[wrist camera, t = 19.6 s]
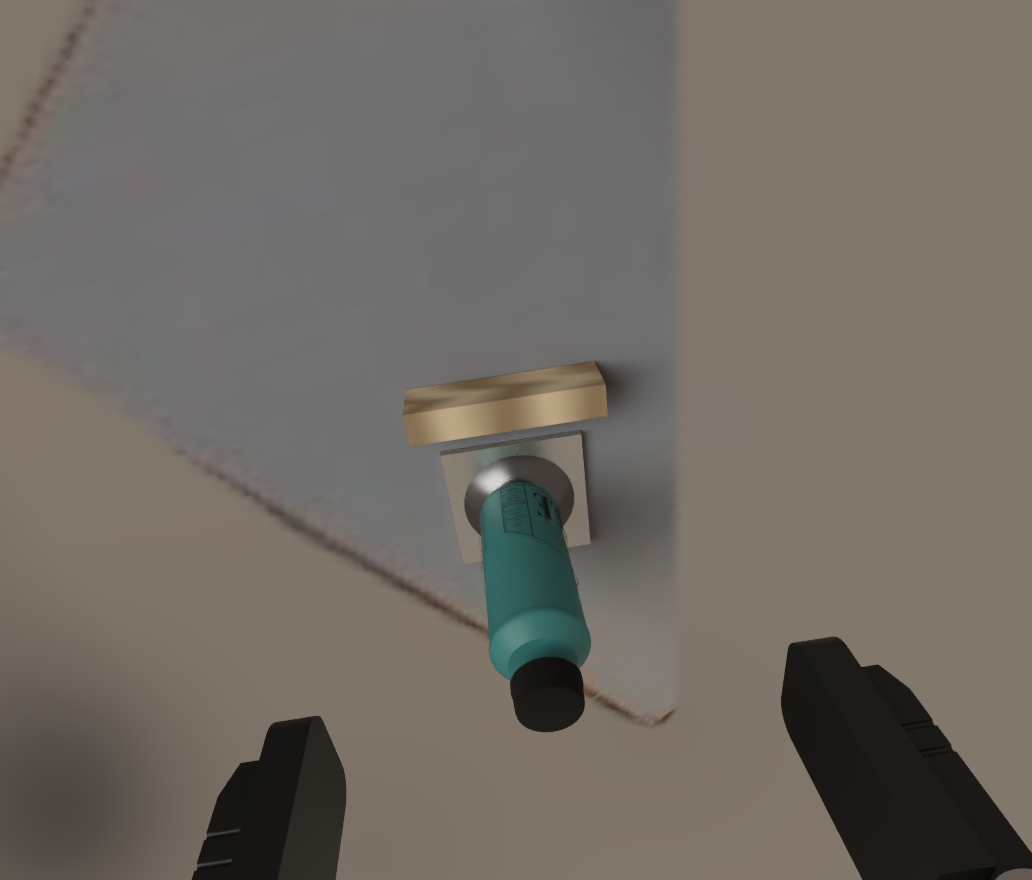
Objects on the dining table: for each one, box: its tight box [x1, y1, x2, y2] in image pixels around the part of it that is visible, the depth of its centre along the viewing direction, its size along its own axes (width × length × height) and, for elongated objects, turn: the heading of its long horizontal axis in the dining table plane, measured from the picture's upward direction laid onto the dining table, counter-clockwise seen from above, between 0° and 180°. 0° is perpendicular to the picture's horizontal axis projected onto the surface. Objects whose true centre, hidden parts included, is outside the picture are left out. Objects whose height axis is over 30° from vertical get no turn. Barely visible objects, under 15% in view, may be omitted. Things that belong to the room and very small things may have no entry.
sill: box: [403, 361, 608, 447], centre depth 46 cm, size 14×2×4 cm, turn 97°
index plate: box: [440, 431, 590, 564], centre depth 52 cm, size 11×11×1 cm
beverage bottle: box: [478, 482, 591, 732], centre depth 43 cm, size 6×7×20 cm
